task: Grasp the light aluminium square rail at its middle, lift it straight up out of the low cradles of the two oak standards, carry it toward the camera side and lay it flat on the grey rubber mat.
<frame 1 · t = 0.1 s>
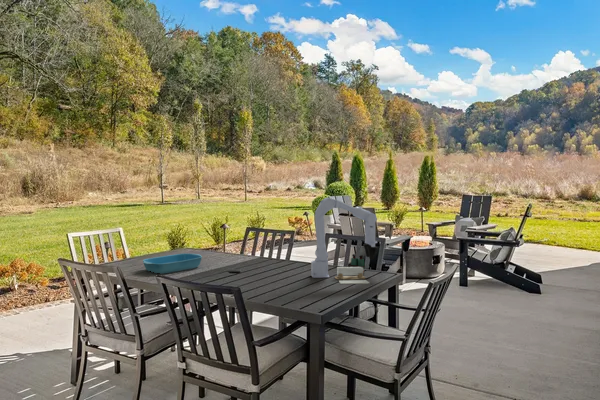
hand: (369, 257, 243), 10 cm above the table, tool pointing down, fingers open, 7 cm apart
rack: (350, 278, 237), on the table
mat: (353, 282, 227), on the table
rail: (350, 274, 237), point 2 cm above the table, touching rack
binoculars: (355, 273, 250), on the table
casserole dish: (173, 269, 262), on the table
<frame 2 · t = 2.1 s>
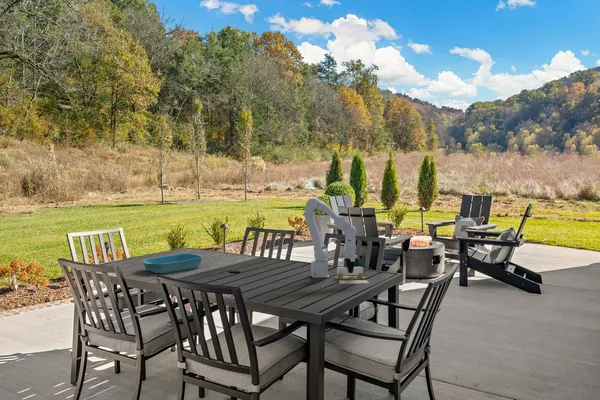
hand: (350, 272, 237), 3 cm above the table, tool pointing down, fingers closed on rail, 3 cm apart
rail: (350, 274, 237), point 2 cm above the table, touching gripper, rack
everything else where it was.
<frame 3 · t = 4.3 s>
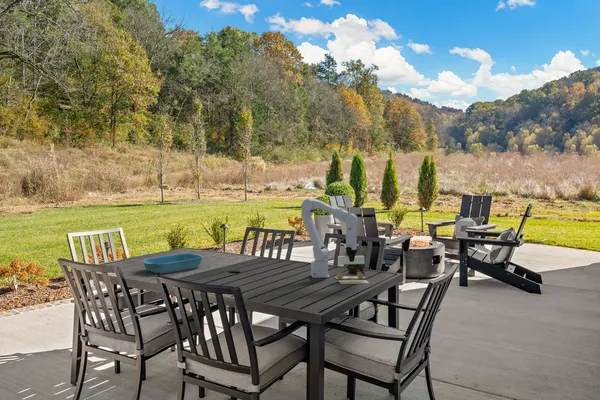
hand: (351, 261, 234), 10 cm above the table, tool pointing down, fingers closed on rail, 3 cm apart
rail: (351, 263, 234), point 9 cm above the table, touching gripper
everything else where it was.
when the fingers open (3 cm above the table, at t = 6.4 s): rail drops 1 cm, resting on mat.
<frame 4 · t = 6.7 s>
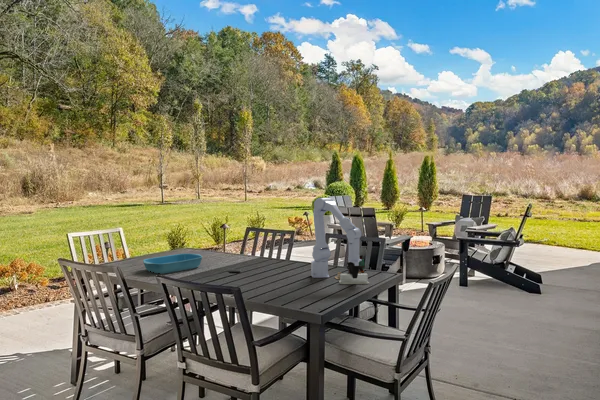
hand: (353, 276, 227), 3 cm above the table, tool pointing down, fingers open, 5 cm apart
rail: (353, 281, 227), resting on mat
everything else where it was.
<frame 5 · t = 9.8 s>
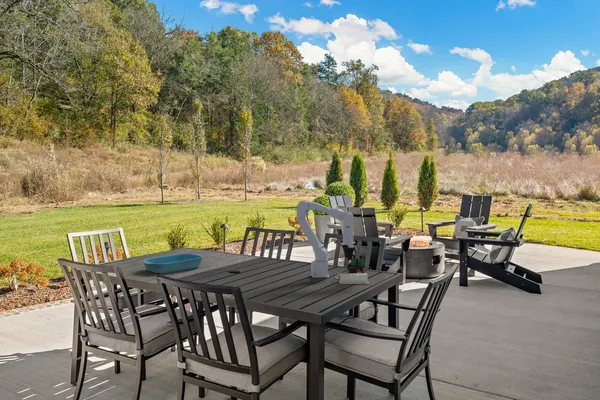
hand: (348, 258, 238), 10 cm above the table, tool pointing down, fingers open, 7 cm apart
nothing on the table moved.
at the end: rail inside the target area (0.3 cm from its centre), resting on mat; rail tilted 0°; the gripper is holding nothing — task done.
